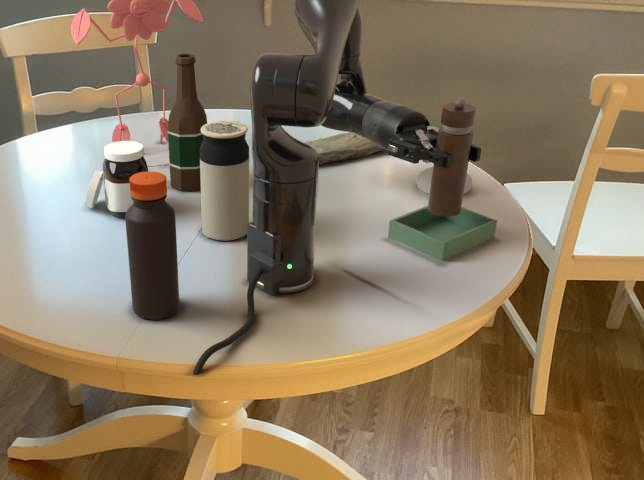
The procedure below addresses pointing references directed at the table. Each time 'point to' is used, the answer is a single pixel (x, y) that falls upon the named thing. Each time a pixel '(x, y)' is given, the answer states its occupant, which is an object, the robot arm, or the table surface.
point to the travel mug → (224, 180)
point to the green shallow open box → (442, 231)
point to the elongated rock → (343, 147)
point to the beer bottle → (185, 129)
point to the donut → (426, 177)
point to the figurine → (136, 18)
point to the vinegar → (152, 247)
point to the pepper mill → (452, 159)
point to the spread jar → (117, 176)
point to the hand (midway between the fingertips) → (463, 158)
